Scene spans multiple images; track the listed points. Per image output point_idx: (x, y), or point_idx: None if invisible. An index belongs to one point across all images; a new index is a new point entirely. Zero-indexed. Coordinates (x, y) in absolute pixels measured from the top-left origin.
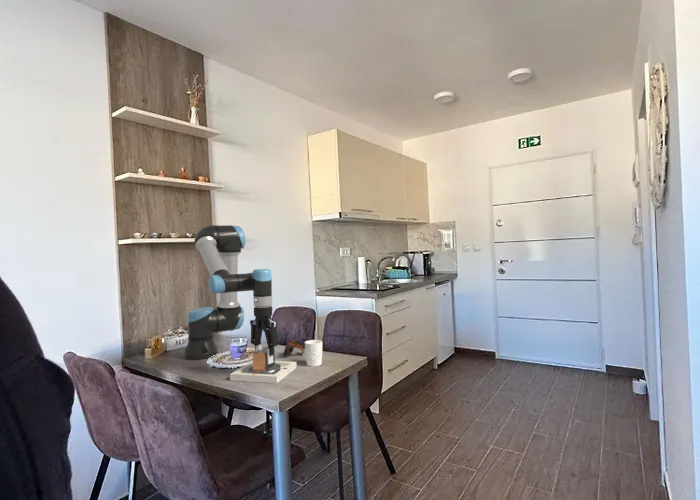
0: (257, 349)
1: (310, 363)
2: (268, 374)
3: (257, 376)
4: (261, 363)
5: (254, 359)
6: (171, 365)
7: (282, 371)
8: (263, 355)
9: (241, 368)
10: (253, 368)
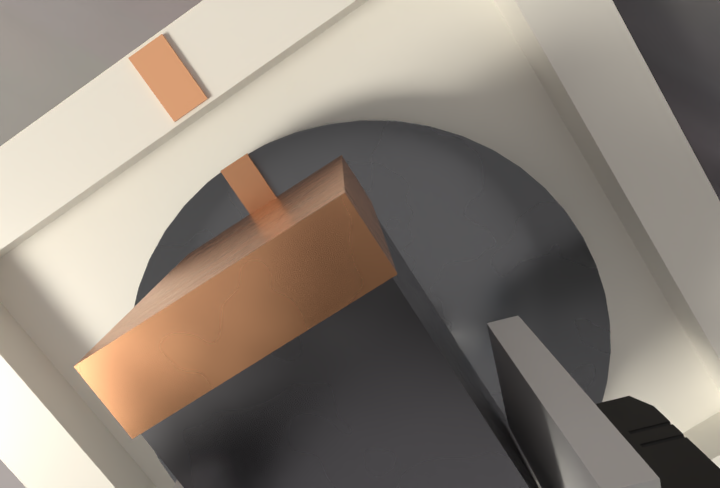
0: (569, 457)
1: None
2: (10, 234)
3: (86, 87)
4: (188, 265)
5: (309, 195)
6: None
7: (7, 445)
8: (91, 350)
9: (624, 93)
10: (335, 160)
